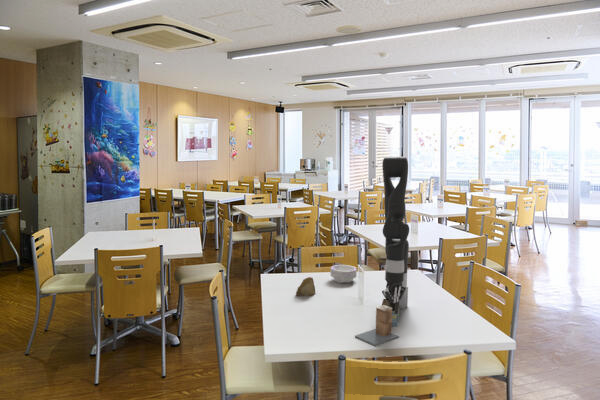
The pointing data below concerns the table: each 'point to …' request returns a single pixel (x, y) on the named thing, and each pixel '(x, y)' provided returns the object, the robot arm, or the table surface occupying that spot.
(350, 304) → the table surface
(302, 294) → the rock
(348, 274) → the paper bowls
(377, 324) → the walnut block
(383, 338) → the slate mat
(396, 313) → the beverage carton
